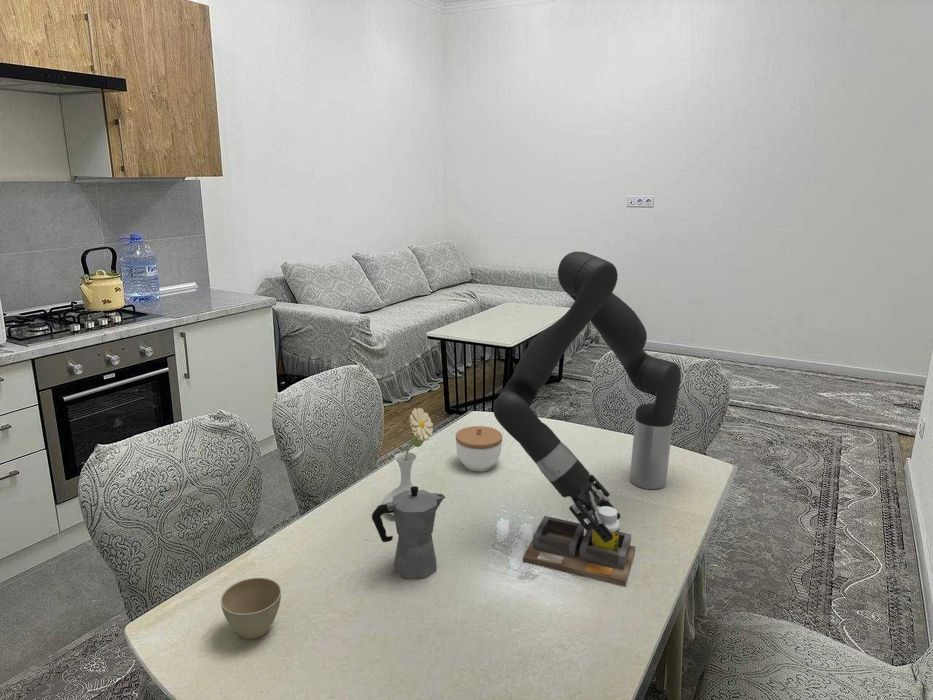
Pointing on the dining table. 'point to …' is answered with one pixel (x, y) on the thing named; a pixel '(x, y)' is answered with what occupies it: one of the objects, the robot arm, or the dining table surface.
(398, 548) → the coffeepot
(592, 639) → the dining table surface
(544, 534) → the socket board
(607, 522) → the supplement bottle
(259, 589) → the beige bowl
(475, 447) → the lidded bowl
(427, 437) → the flower in vase
